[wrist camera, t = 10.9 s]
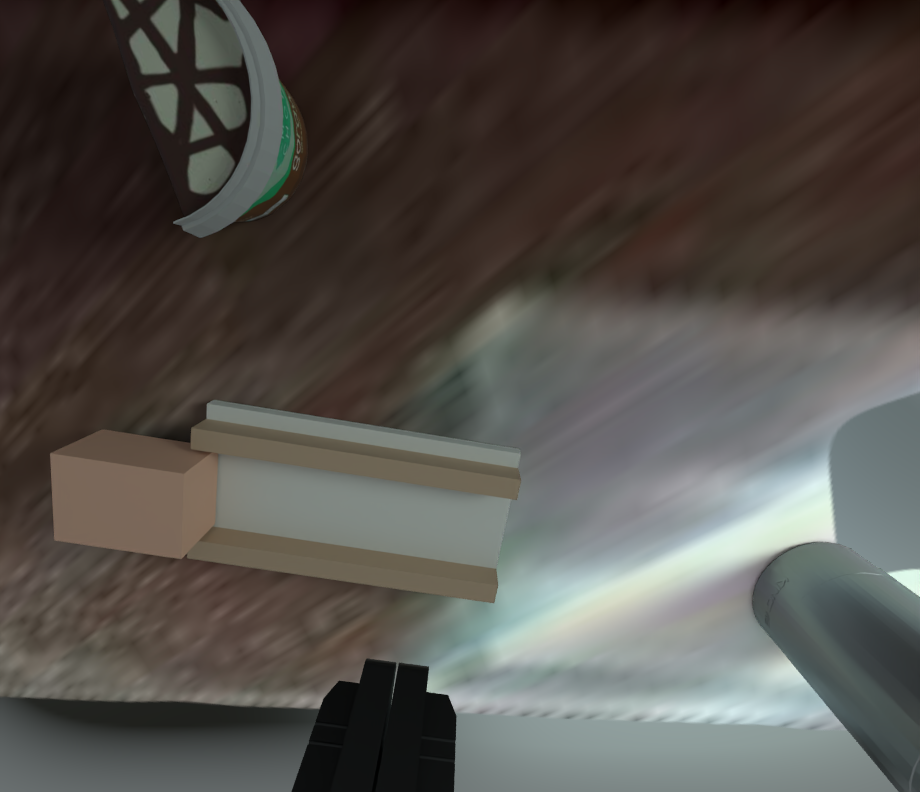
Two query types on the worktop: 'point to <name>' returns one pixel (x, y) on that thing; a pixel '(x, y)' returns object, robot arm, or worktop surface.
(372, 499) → the chute
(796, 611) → the robot arm
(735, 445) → the worktop surface
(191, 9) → the food container
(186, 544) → the block
